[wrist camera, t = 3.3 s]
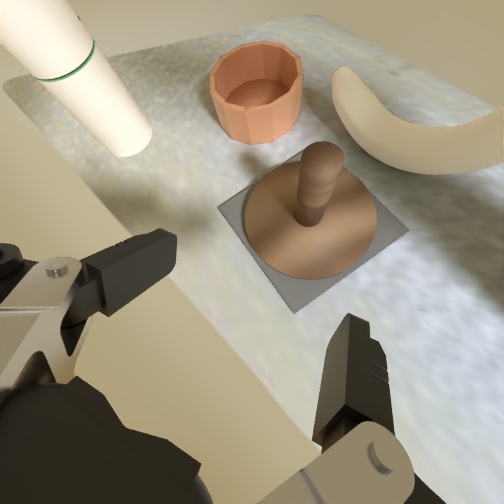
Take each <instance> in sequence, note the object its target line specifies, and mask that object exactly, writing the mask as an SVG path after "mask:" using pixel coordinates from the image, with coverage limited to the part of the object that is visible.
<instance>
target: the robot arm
mask: <svg viewBox="0 0 504 504" xmlns="http://www.w3.org/2000/svg"><path fill="white" fill-rule="evenodd" d="M176 249H177V237H176V235H175V234H173V233H171V232H168V231H166V230H164V229H161V228H159V229H156V230H154V231H152V232H150V233H148V234H142V235H137V236H133V237H131V238H129V239H126V240H124V242H120V243H118V244H115V246H111V247H108V248H106V249H104V250H102V251H99V252H97V253H95V254H93V255H90V256H88V257H86V258H84V259H82V260H79V261H78V260H77V259H74V258H70V257H56V258H51V259H47V260H44V261H42V262H36V261H30V260H26V259H23V257H22V255H21V252H20V250H19V248H18V247H17V246H15V245H12V244H5V243H0V504H213V501H212V499H211V496H210V494H209V492H208V490H207V488H206V486H205V484H204V483H203V481H202V480H201V478H200V477H199V476H198V473H199V470H200V467H201V463H199V462H198V461H197V460H195V459H194V458H192V457H191V456H190V455H188V454H187V453H185V452H184V451H182V450H181V449H180V448H178V447H177V446H175V445H174V444H173V443H171V442H170V441H168V440H167V439H164V438H159V437H156V436H153V435H149V434H146V433H142V432H139V431H135V430H131V429H128V428H126V427H125V426H124V425H123V424H122V422H121V421H120V419H119V418H118V416H117V415H116V413H115V412H114V410H113V408H112V407H111V405H110V404H109V402H108V401H107V399H106V397H105V396H104V395H103V394H102V393H101V392H99V391H98V390H96V389H95V388H93V387H92V386H91V385H89V384H88V383H86V382H85V381H83V380H82V379H81V378H79V377H78V376H75V377H74V369H75V363H76V361H77V358H78V355H79V353H80V350H81V348H82V345H83V343H84V341H85V338H86V336H87V333H88V331H89V328H90V326H91V323H92V321H93V314H95V313H96V312H98V311H99V312H101V313H102V314H104V315H106V316H108V317H110V316H111V315H112V314H114V313H115V312H116V311H118V310H119V309H121V308H122V307H123V306H125V305H126V304H127V303H129V302H130V301H132V300H133V299H134V298H136V297H137V296H139V295H140V294H141V293H143V292H144V291H146V290H147V289H148V288H150V287H151V286H152V285H154V284H155V283H156V282H158V281H160V280H161V279H162V278H164V277H165V276H166V275H168V274H169V273H170V272H171V271H172V270H173V268H174V266H175V263H176ZM388 382H389V379H388V372H387V361H386V355H385V353H384V351H383V349H382V347H381V345H380V343H379V342H378V341H376V340H374V339H372V338H370V325H369V322H368V321H366V320H363V319H361V318H359V317H357V316H354V315H352V314H350V313H348V314H347V315H346V316H345V317H344V319H343V320H342V322H341V324H340V325H339V327H338V328H337V330H336V331H335V333H334V335H333V336H332V338H331V340H330V342H329V344H328V347H327V350H326V356H325V362H324V368H323V374H322V380H321V386H320V393H319V399H318V405H317V411H316V417H315V424H314V430H313V436H312V441H314V442H315V443H317V444H319V445H320V446H322V451H321V455H320V456H319V457H317V458H316V459H315V460H314V461H312V462H311V463H310V464H309V465H307V466H306V467H305V468H303V469H301V470H299V471H298V472H297V473H295V474H294V475H293V476H291V477H290V478H289V479H288V480H286V481H285V482H284V483H282V484H281V485H280V486H279V487H277V488H276V489H275V490H273V491H272V492H271V493H270V494H268V495H267V496H266V497H265V498H263V499H262V500H261V501H260V502H258V503H257V504H446V503H445V502H444V501H443V500H442V499H441V498H440V497H439V496H438V495H437V494H435V493H434V492H433V491H432V490H431V489H430V488H429V487H428V486H427V485H426V484H425V483H424V482H423V481H422V480H421V479H420V478H419V477H418V476H417V475H416V474H415V473H414V470H413V467H412V464H411V461H410V458H409V456H408V454H407V452H406V451H405V449H404V447H403V446H402V445H401V443H400V442H399V440H398V439H397V438H396V437H395V432H394V423H393V414H392V406H391V397H390V388H389V384H388Z"/></svg>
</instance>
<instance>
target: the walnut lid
mask: <svg viewBox="0 0 504 504" xmlns="http://www.w3.org/2000/svg"><path fill="white" fill-rule="evenodd" d="M343 163H344V155H343V152H342V150H341V149H340V148H339V147H338V146H336V145H335V144H333V143H330V142H316V143H313V144H311V145H309V146H308V147H307V148H306V149H305V150H304V151H303V153H302V156H301V161H297V162H292V163H289V164H286V165H283V166H281V167H279V168H277V169H275V170H273V171H271V172H270V173H269V174H267V175H266V176H265V177H264V178H263V179H262V180H261V181H260V182H259V183H258V184H257V185H256V187H255V188H254V190H253V191H252V193H251V195H250V197H249V199H248V202H247V206H246V211H245V226H246V231H247V235H248V238H249V240H250V242H251V245H252V247H253V248H254V250H255V252H256V253H257V254H258V256H259V257H260V258H261V259H262V260H263V261H264V262H265V263H266V264H267V265H268V266H270V267H271V268H273V269H274V270H276V271H278V272H280V273H282V274H284V275H287V276H290V277H293V278H298V279H306V280H316V279H323V278H328V277H331V276H335V275H337V274H339V273H341V272H343V271H345V270H347V269H348V268H350V267H351V266H352V265H354V264H355V263H356V262H357V261H358V260H360V258H361V257H362V256H363V255H364V254H365V253H366V251H367V250H368V248H369V247H370V245H371V243H372V241H373V239H374V235H375V232H376V225H377V214H376V208H375V204H374V201H373V199H372V197H371V195H370V193H369V191H368V190H367V188H366V187H365V185H364V184H363V183H362V182H361V181H360V180H359V179H358V178H357V177H356V176H354V175H353V174H352V173H350V172H349V171H347V170H346V169H344V168H342V166H343Z"/></svg>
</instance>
